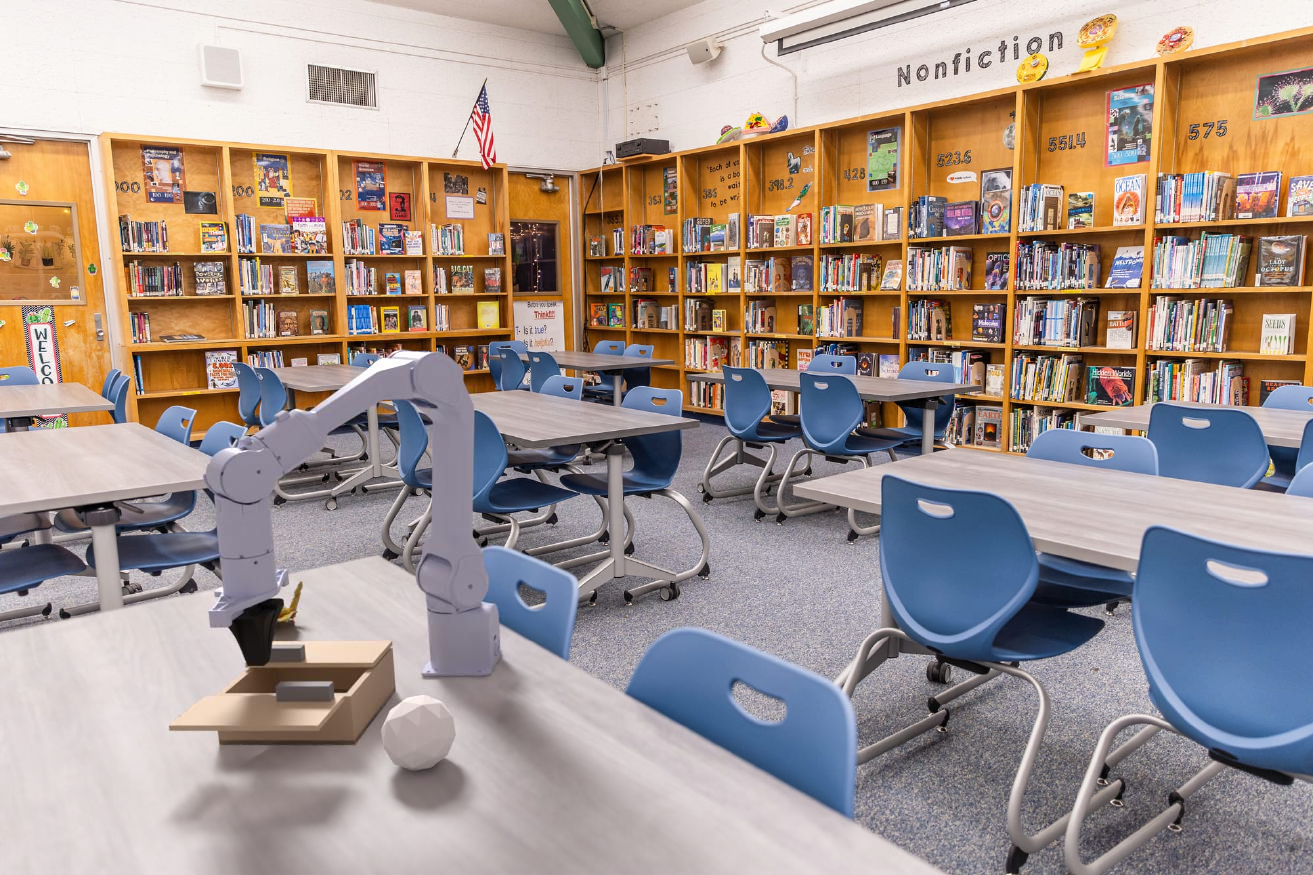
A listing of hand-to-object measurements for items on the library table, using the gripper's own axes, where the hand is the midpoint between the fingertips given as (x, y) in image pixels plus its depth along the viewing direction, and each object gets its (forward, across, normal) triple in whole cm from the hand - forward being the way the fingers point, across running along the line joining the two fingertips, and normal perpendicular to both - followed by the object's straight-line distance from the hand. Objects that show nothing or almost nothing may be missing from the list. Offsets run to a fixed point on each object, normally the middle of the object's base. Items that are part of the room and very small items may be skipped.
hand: (258, 663), depth 102 cm
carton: (+9, -4, +4) cm, 10 cm away
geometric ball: (+9, +7, +21) cm, 24 cm away
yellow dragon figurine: (+9, -34, -14) cm, 38 cm away
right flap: (+2, -8, +4) cm, 9 cm away
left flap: (+2, +8, +4) cm, 9 cm away
